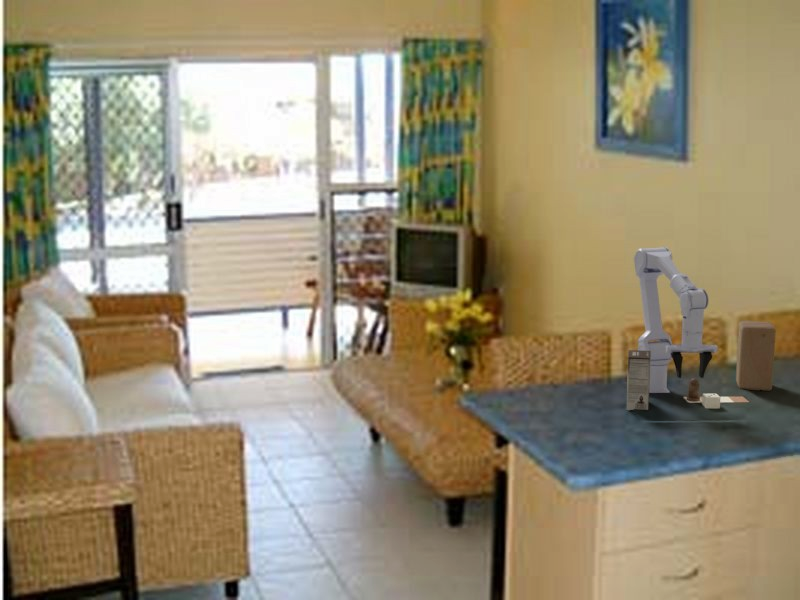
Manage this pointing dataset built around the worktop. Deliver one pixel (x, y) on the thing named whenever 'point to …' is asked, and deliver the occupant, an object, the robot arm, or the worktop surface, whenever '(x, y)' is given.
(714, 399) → the die
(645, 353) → the coffee box
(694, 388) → the pawn
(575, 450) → the worktop surface
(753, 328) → the wooden block
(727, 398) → the board
